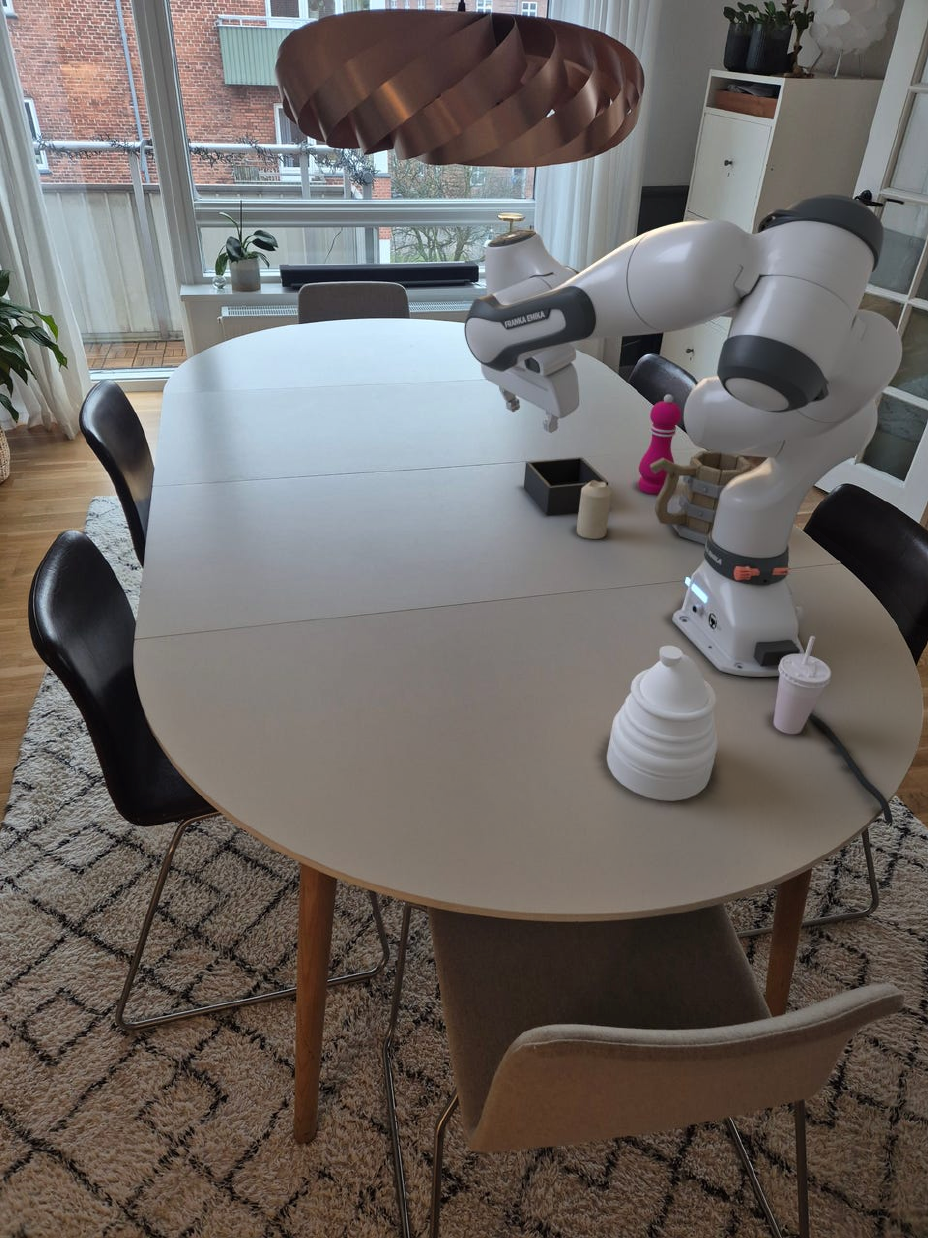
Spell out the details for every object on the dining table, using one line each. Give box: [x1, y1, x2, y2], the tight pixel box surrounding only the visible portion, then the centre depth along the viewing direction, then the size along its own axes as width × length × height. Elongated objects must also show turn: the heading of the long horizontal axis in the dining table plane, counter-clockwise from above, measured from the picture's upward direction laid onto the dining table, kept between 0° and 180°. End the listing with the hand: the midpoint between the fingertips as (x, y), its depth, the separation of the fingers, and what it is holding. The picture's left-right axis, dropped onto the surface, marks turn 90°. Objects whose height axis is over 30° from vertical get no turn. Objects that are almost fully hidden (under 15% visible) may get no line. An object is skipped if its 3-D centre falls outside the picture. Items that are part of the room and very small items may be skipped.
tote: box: [523, 456, 609, 516], centre depth 173 cm, size 13×12×6 cm
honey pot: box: [606, 645, 718, 802], centre depth 104 cm, size 13×13×18 cm
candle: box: [576, 480, 613, 540], centre depth 160 cm, size 6×6×10 cm
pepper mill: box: [637, 394, 682, 496], centre depth 175 cm, size 7×7×20 cm
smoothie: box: [773, 635, 832, 735], centre depth 113 cm, size 6×6×14 cm
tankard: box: [650, 450, 753, 546], centre depth 161 cm, size 20×13×15 cm, turn 99°
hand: (531, 419), depth 141 cm, fingers open, 8 cm apart
